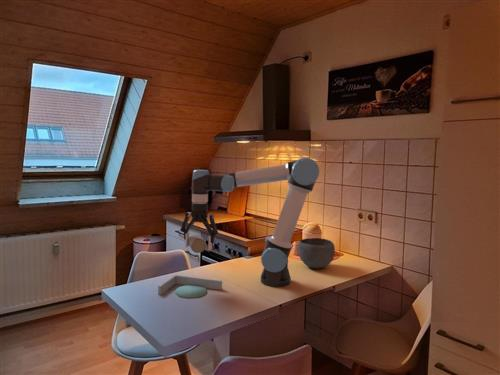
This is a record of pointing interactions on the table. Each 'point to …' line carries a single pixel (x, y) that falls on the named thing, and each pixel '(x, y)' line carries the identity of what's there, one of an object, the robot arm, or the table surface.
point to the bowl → (316, 252)
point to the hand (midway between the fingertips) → (198, 247)
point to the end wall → (166, 285)
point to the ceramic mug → (197, 243)
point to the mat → (191, 291)
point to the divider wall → (199, 282)
